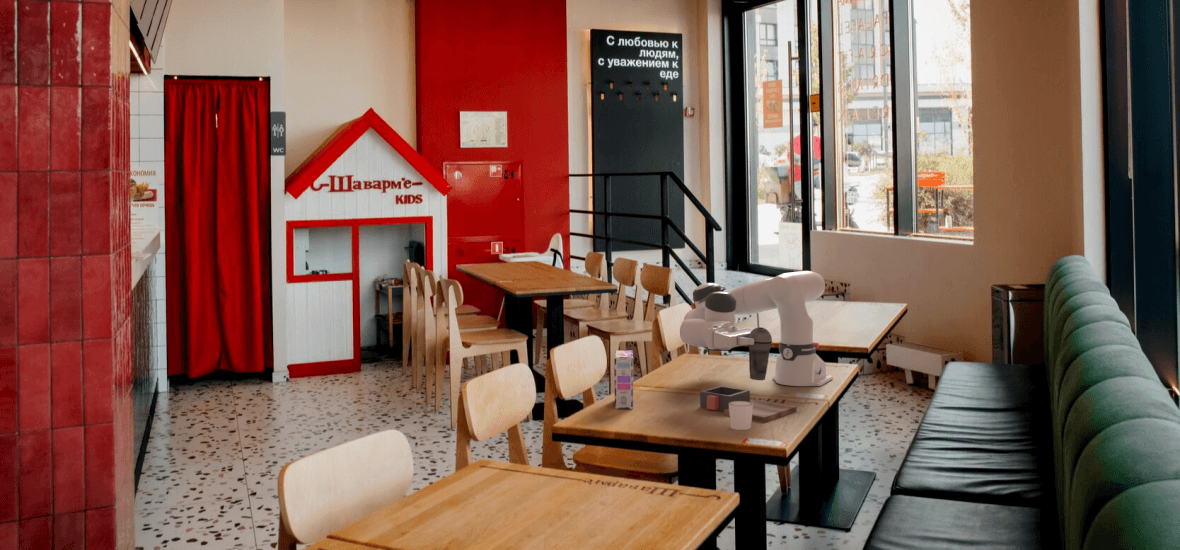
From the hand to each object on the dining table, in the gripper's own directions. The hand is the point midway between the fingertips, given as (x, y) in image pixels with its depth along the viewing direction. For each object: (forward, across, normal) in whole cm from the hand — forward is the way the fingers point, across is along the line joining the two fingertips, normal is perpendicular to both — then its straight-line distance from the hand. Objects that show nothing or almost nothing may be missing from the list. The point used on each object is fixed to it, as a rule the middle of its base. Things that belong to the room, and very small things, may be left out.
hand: (762, 340), depth 271 cm
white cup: (+4, +18, -23) cm, 29 cm away
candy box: (-40, +18, -23) cm, 49 cm away
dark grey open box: (-14, 0, -22) cm, 26 cm away
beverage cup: (-2, 0, -12) cm, 12 cm away
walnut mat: (-1, 0, -22) cm, 23 cm away
